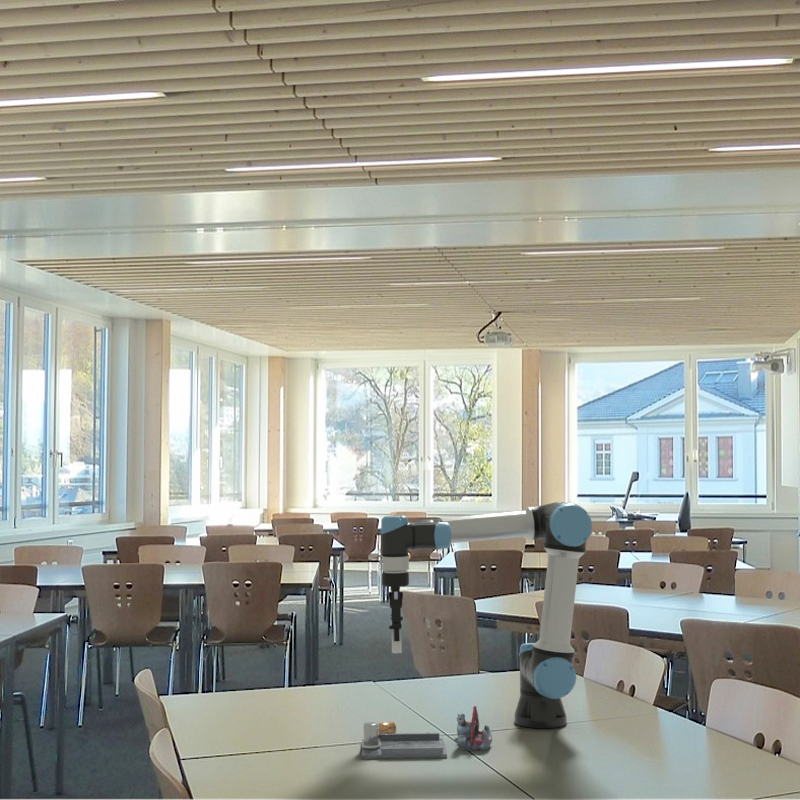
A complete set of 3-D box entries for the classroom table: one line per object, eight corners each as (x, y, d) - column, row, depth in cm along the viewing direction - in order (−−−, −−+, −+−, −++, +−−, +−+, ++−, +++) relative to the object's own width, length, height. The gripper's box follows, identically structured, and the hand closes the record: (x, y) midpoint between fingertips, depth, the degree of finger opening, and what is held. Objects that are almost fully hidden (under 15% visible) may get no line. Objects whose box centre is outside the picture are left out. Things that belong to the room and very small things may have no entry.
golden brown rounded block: (389, 733, 306) (389, 720, 306) (396, 735, 303) (396, 722, 303) (371, 736, 303) (371, 723, 303) (377, 738, 299) (377, 725, 300)
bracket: (442, 741, 295) (442, 715, 295) (447, 757, 279) (446, 730, 280) (361, 743, 294) (361, 717, 295) (361, 759, 278) (361, 731, 279)
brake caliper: (497, 744, 283) (469, 706, 285) (464, 769, 284) (437, 730, 286) (502, 734, 294) (475, 697, 296) (471, 757, 295) (444, 720, 297)
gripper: (381, 567, 313) (383, 641, 312) (381, 576, 288) (382, 657, 287) (407, 566, 313) (409, 640, 312) (409, 576, 289) (411, 656, 287)
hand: (396, 648), depth 300 cm, fingers open, 13 cm apart
